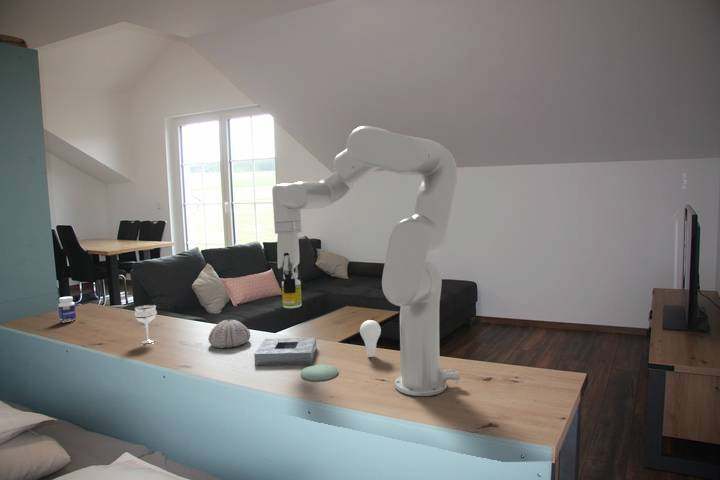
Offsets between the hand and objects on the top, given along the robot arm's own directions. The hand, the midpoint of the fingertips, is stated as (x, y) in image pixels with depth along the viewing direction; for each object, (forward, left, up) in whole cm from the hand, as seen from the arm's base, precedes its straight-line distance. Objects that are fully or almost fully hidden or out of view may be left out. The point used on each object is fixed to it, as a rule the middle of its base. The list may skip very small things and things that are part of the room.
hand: (291, 290), depth 138 cm
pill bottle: (+99, -51, -21) cm, 113 cm away
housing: (+3, -3, -21) cm, 21 cm away
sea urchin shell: (+24, -17, -21) cm, 36 cm away
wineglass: (+53, -21, -21) cm, 61 cm away
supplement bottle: (0, 0, -5) cm, 5 cm away
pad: (-8, +11, -21) cm, 25 cm away
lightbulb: (-22, -1, -21) cm, 31 cm away
